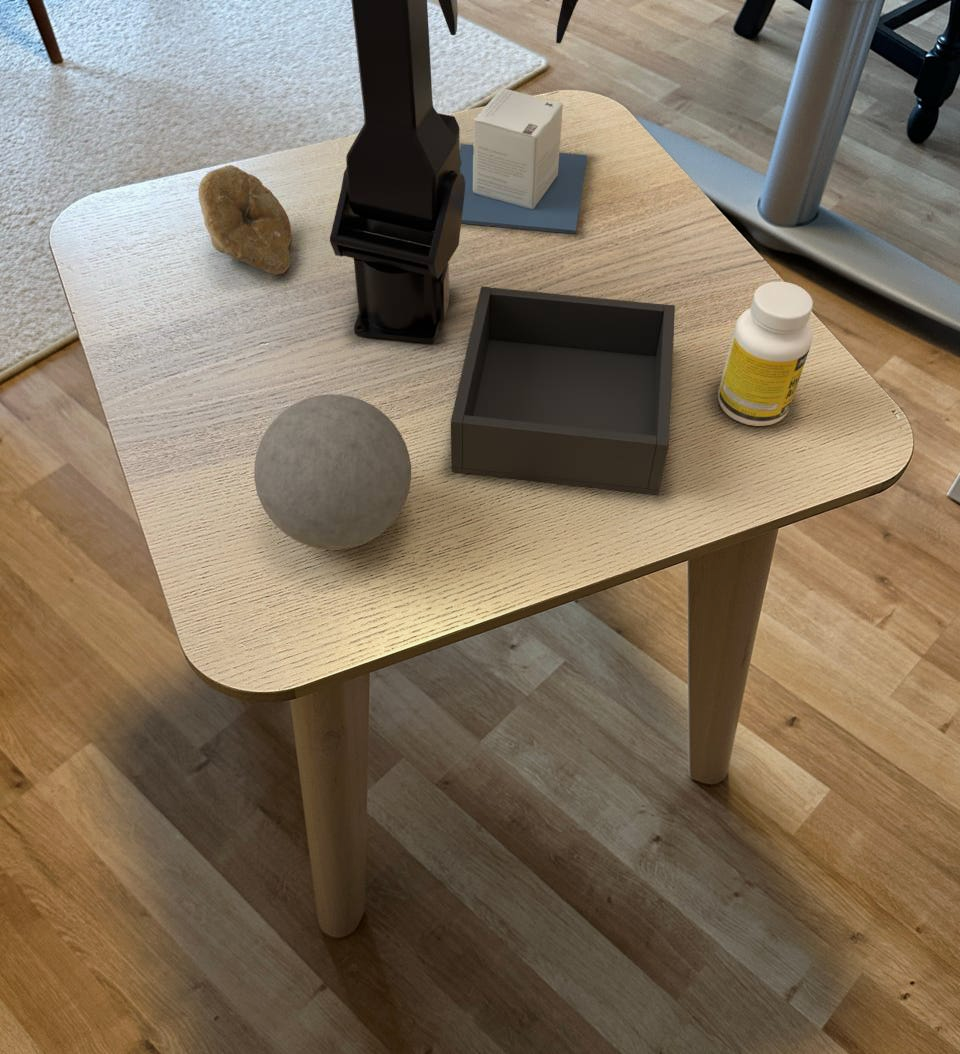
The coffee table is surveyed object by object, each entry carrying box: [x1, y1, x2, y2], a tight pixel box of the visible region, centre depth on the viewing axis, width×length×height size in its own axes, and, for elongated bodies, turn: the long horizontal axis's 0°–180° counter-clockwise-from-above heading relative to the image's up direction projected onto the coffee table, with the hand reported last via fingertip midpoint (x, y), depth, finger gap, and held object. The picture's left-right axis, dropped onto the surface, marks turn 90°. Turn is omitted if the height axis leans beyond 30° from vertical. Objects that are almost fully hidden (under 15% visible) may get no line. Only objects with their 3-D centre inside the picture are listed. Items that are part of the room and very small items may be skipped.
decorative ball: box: [253, 393, 412, 551], centre depth 69 cm, size 10×10×10 cm
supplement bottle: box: [717, 281, 814, 427], centre depth 77 cm, size 5×5×10 cm
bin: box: [450, 286, 676, 496], centre depth 78 cm, size 15×15×5 cm
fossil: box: [197, 164, 293, 276], centre depth 90 cm, size 9×4×10 cm
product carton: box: [472, 87, 564, 209], centre depth 95 cm, size 6×6×7 cm
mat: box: [459, 143, 588, 235], centre depth 98 cm, size 12×12×1 cm
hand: (506, 37), depth 94 cm, fingers open, 9 cm apart
